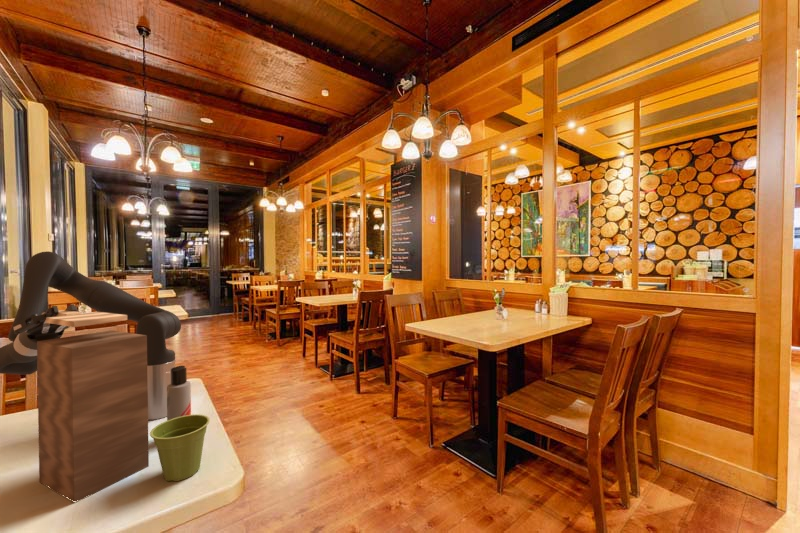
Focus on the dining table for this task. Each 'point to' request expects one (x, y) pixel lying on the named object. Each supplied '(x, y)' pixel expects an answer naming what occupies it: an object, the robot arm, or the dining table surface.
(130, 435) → the walnut plinth
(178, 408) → the lotion bottle
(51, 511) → the dining table surface
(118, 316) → the tan stepped slab
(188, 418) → the plant pot
